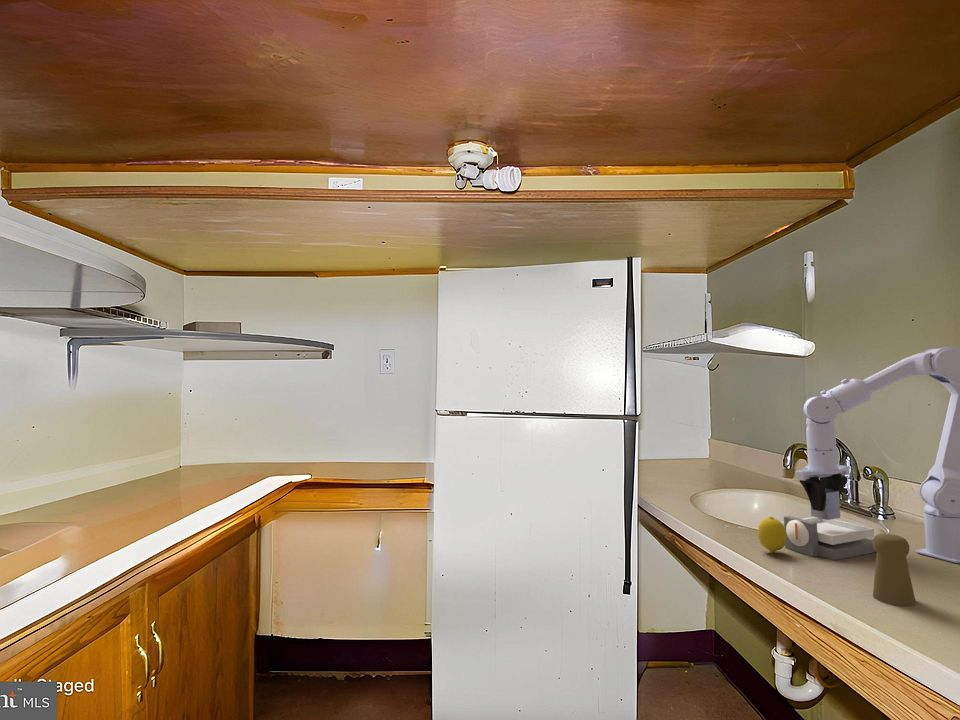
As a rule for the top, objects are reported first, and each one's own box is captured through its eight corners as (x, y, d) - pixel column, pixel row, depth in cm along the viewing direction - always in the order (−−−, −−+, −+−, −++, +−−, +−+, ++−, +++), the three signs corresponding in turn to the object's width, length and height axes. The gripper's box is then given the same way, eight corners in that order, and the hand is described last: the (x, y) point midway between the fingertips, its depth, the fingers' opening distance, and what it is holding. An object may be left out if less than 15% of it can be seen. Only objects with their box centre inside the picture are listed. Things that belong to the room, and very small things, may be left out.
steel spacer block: (823, 513, 128) (822, 487, 128) (840, 517, 124) (838, 491, 124) (811, 515, 126) (809, 489, 127) (827, 520, 123) (826, 492, 123)
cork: (874, 589, 100) (870, 528, 101) (916, 597, 97) (912, 533, 97) (871, 600, 96) (867, 537, 96) (915, 609, 92) (911, 542, 92)
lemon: (771, 547, 126) (769, 512, 126) (793, 554, 121) (791, 517, 121) (753, 551, 124) (751, 515, 124) (774, 558, 119) (772, 521, 119)
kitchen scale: (821, 534, 134) (819, 505, 134) (879, 551, 121) (878, 518, 121) (770, 543, 129) (769, 513, 129) (826, 561, 115) (824, 528, 116)
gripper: (828, 445, 132) (831, 502, 132) (782, 449, 127) (785, 508, 127) (857, 448, 125) (860, 508, 125) (810, 453, 120) (813, 515, 120)
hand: (824, 509), depth 125 cm, fingers closed on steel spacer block, 4 cm apart
